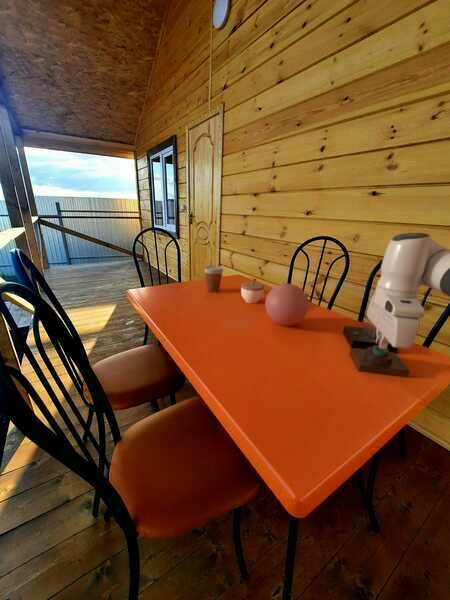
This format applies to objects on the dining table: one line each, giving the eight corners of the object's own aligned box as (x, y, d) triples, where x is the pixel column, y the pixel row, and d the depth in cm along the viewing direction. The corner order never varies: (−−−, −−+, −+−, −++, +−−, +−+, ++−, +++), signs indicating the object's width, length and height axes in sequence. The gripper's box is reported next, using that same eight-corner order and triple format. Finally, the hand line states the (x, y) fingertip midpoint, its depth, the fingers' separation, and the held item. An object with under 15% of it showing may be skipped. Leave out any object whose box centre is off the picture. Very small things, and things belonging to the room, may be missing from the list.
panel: (382, 337, 87) (384, 329, 86) (396, 354, 77) (399, 345, 76) (342, 333, 89) (344, 325, 88) (351, 348, 79) (353, 339, 78)
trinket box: (263, 298, 123) (264, 279, 120) (262, 305, 113) (264, 285, 110) (241, 296, 125) (242, 277, 121) (239, 303, 115) (240, 283, 111)
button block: (392, 359, 74) (396, 347, 73) (407, 377, 66) (411, 364, 65) (349, 354, 76) (351, 342, 75) (358, 371, 68) (361, 358, 67)
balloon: (322, 324, 96) (329, 285, 91) (284, 336, 85) (289, 293, 80) (291, 311, 108) (296, 276, 103) (255, 320, 98) (258, 281, 92)
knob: (362, 330, 85) (365, 319, 83) (367, 330, 85) (369, 319, 83) (372, 338, 80) (375, 326, 78) (377, 338, 80) (380, 326, 78)
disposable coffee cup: (223, 288, 136) (224, 266, 132) (220, 293, 128) (221, 270, 124) (206, 287, 138) (206, 265, 134) (202, 292, 129) (202, 269, 125)
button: (383, 351, 71) (385, 345, 71) (389, 358, 68) (390, 352, 67) (370, 349, 72) (371, 344, 71) (374, 356, 68) (376, 350, 68)
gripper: (366, 286, 75) (357, 328, 79) (397, 311, 56) (382, 365, 60) (390, 288, 74) (378, 331, 78) (429, 314, 55) (411, 369, 59)
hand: (380, 346), depth 69 cm, fingers closed
